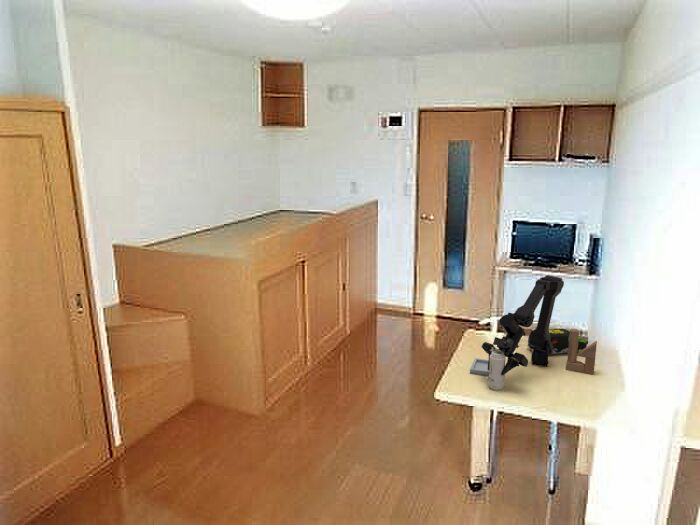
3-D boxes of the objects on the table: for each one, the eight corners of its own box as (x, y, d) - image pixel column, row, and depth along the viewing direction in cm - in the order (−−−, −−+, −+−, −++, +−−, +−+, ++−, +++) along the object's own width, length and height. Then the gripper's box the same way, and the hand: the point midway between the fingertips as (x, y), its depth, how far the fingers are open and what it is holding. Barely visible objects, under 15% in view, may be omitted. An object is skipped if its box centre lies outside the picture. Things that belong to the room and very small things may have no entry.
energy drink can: (486, 384, 209) (488, 350, 206) (501, 383, 209) (503, 349, 206) (490, 391, 203) (492, 356, 200) (505, 391, 203) (507, 355, 200)
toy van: (587, 353, 236) (589, 333, 234) (537, 358, 233) (538, 337, 230) (574, 344, 247) (576, 325, 244) (525, 349, 243) (527, 329, 240)
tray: (502, 366, 225) (502, 362, 225) (498, 378, 214) (499, 373, 214) (474, 362, 230) (474, 358, 229) (469, 373, 219) (470, 369, 218)
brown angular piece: (593, 375, 215) (597, 334, 211) (565, 369, 221) (569, 330, 216) (594, 371, 218) (598, 331, 214) (566, 366, 224) (570, 327, 219)
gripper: (484, 323, 210) (467, 356, 206) (526, 335, 196) (508, 371, 192) (495, 336, 217) (478, 368, 213) (535, 349, 203) (518, 383, 199)
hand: (494, 372), depth 204 cm, fingers closed on energy drink can, 6 cm apart
